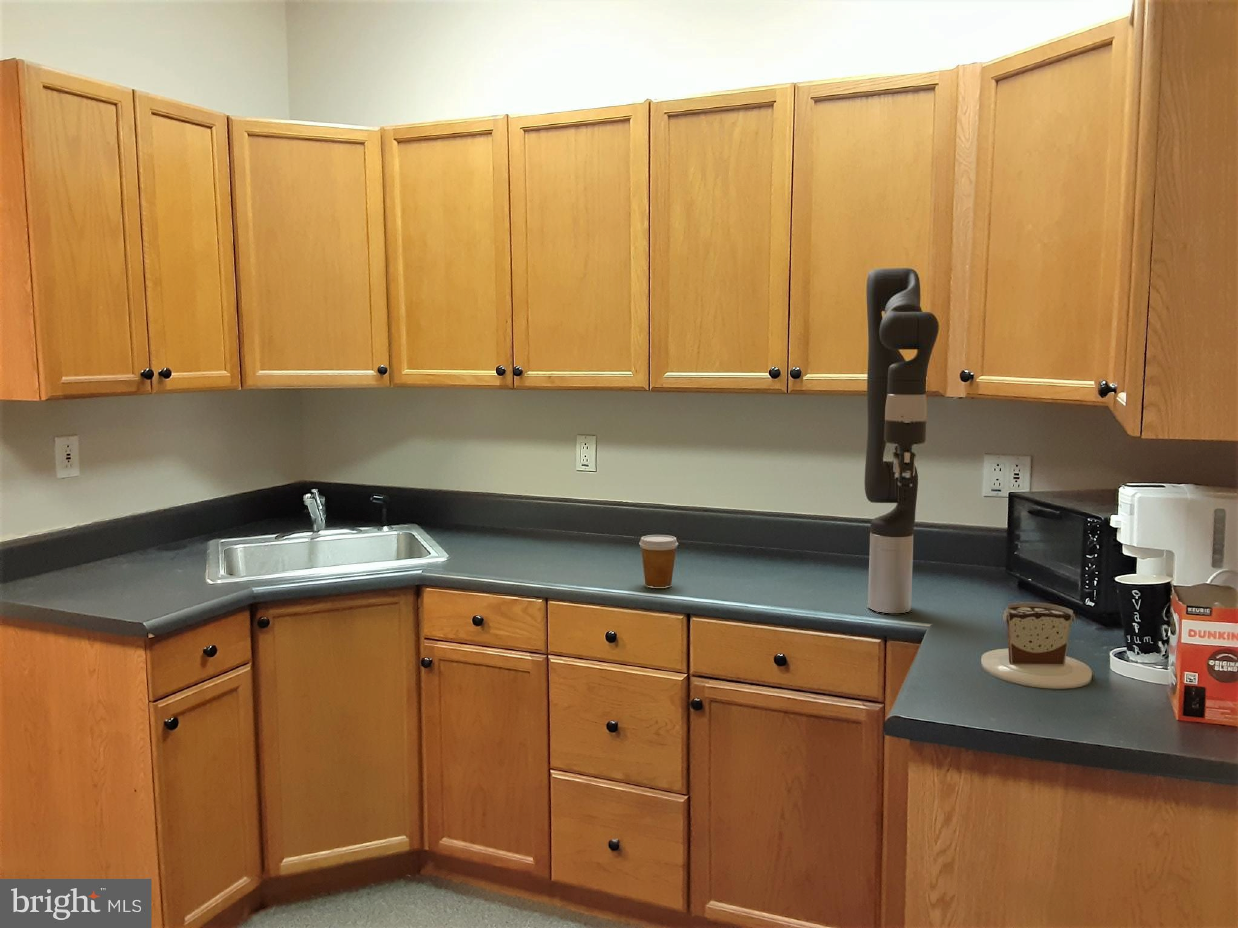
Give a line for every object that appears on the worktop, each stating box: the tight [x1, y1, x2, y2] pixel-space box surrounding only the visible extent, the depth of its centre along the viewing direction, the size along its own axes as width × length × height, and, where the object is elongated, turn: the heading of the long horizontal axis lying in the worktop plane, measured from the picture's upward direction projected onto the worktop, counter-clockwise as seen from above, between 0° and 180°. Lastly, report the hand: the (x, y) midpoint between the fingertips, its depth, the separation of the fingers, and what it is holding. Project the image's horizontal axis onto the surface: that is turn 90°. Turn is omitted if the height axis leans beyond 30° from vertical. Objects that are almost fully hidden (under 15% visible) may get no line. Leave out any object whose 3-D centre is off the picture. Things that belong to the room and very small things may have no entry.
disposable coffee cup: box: [638, 534, 679, 587], centre depth 223 cm, size 10×10×12 cm
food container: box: [1002, 601, 1076, 666], centre depth 165 cm, size 12×6×10 cm, turn 88°
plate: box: [980, 648, 1093, 690], centre depth 163 cm, size 18×18×1 cm
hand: (902, 502), depth 175 cm, fingers open, 8 cm apart
